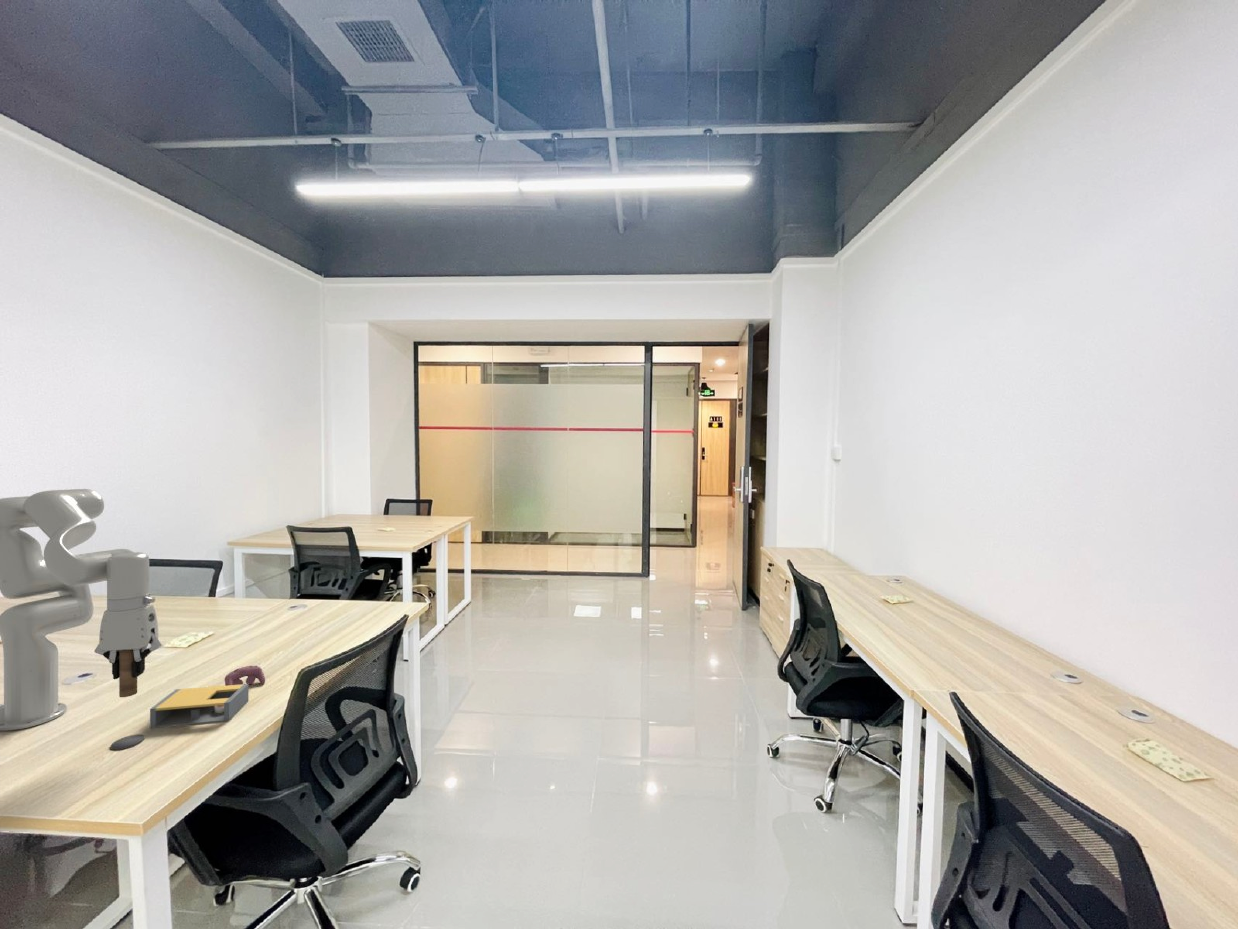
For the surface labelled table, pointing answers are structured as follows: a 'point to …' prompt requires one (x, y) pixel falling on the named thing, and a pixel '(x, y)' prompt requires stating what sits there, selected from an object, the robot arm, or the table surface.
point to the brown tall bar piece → (126, 674)
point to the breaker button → (219, 709)
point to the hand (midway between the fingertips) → (128, 675)
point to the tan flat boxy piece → (198, 705)
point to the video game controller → (248, 671)
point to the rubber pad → (127, 742)
